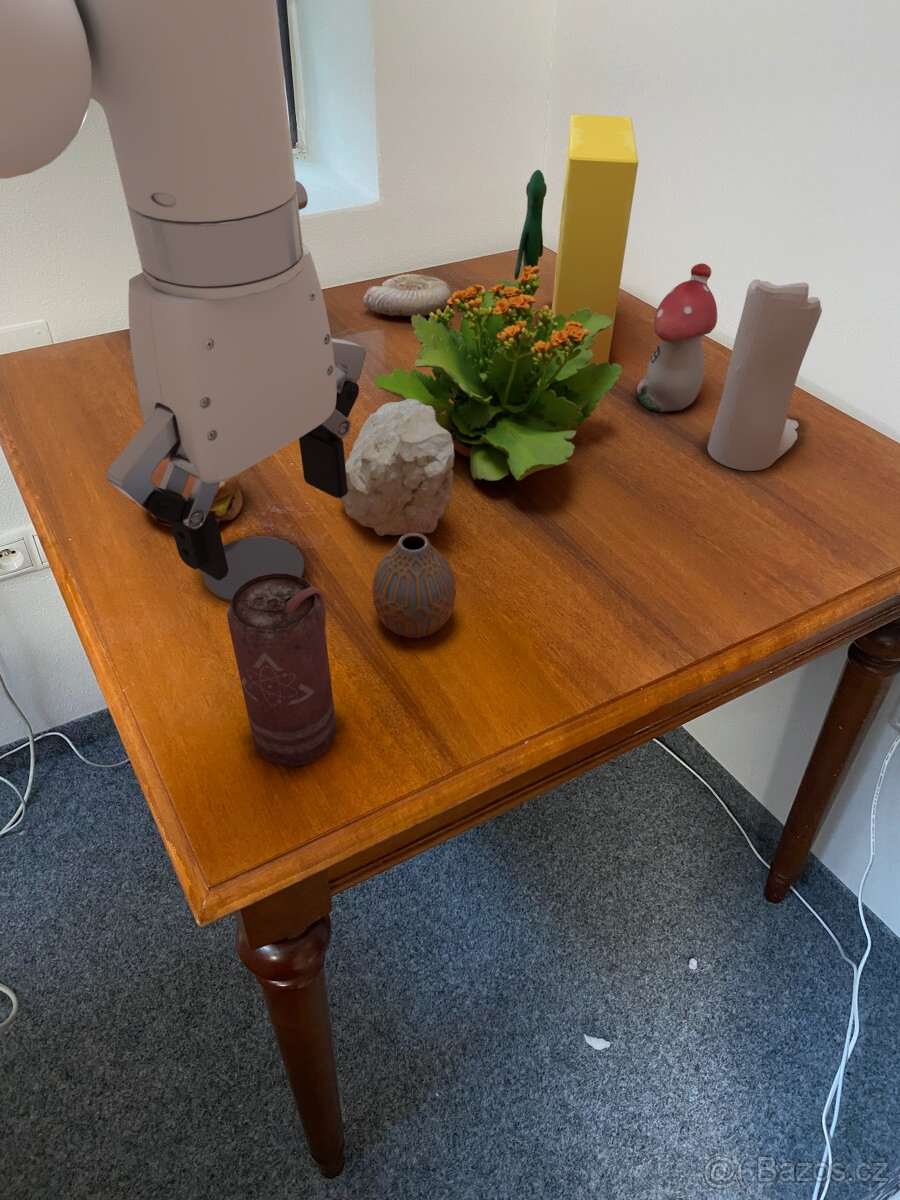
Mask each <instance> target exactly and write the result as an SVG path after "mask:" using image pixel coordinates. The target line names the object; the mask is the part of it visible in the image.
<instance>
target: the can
mask: <svg viewBox="0 0 900 1200" xmlns="http://www.w3.org/2000/svg"><path fill="white" fill-rule="evenodd" d="M326 608H327V607H326V602H325V597H324V593H323V592H322V590H321V589H320V588H318V587H315V586H312V585H311V584H310V582H308V581H307V580H305V579H304V578H303V577H302V578H300V577H298V576H295V575H291V574H287V573H271V574H265V575H260V576H258V577H255V578H253V579H250V580H248V581H247V582H246V583H244V584H243V585H241V586H240V587H239V588H238V589H237V590H236V592H235V593H234V594H233V596H232V600H231V602H229V606H228V609H227V613H226V619H227V625H228V629H229V634H230V638H231V643H232V647H233V652H234V656H235V657H234V658H235V662H236V666H237V670H238V676H239V680H240V685H241V689H242V693H243V699H244V703H245V708H246V712H247V717H248V722H249V726H250V731H251V736H252V740H253V745H254V747H255V749H256V750H257V752H258V753H259V755H260V756H261V757H263V758H265V759H266V760H267V761H269V762H270V763H272V764H277V765H280V766H283V767H301V766H303V765H308V764H310V763H312V762H314V761H316V760H318V759H319V758H320V757H321V756H322V755H323V754H324V753H325V752H327V750H329V748H330V747H331V745H332V744H333V742H334V740H335V738H336V732H337V724H336V714H335V706H334V697H333V696H334V695H333V687H332V677H331V670H330V668H331V667H330V660H329V652H328V651H329V650H328V643H327V642H328V641H327V633H326V626H327V625H326V621H327V620H326V619H327V609H326Z"/></svg>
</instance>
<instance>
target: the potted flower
mask: <svg viewBox="0 0 900 1200" xmlns="http://www.w3.org/2000/svg"><path fill="white" fill-rule="evenodd" d="M522 268H523V271H522V274H521V275H520V278H519V277H518V279H517V282H515V281H514V282H511V281H510V280H509V279H506V278H504V279H502V280H499V281H498V282H497V283H496V285H494V286H491V287H490V288H489V289H487V288H485V285H480V284H477V283H476V284H471V285H469V286H468V287H467V288H465V289H464V290H463V289H462V290H460V289H458V290H457V291H454V292H452V296H451V297H450V298H449V300H448V301H447V304H449V305H447V306H446V308H444V310H443V312H442V310H439V309H438V310H437V312H436V313H432V312H431V313H430V315H429V318H428V319H426V317H424V316H423V315H422V316H421V315H420V314H418V315H417V316H416V315H413V316H411V319H410V320H411V327H412V329H413V330H414V331H413V335H414V337H415V338H416V340H417V341H418V343H419V344H420V345H422V347H420V348H418V349H417V351H416V356H417V357H418V358H419V359H414V367H416V368H417V369H416V368H412V369H411V371H410V373H409V371H407V370H405V369H401V368H393V370H392V373H390V374H387V373H382V374H381V375H377V376H376V377H375V378H373V382H374V384H375V386H376V387H377V388H378V389H382V390H384V391H387V392H388V393H390V394H392V395H394V396H396V397H397V398H398V397H399V398H401V399H403V401H404V400H407V399H408V398H410V399H416V400H419V401H420V402H422V403H423V404H424V405H427V406H432V408H433V409H434V410H435V414H436V415H437V414H439V416H438V417H436V421H437V423H438V424H439V425H440V426H441V427H442V428H444V429H445V430H447V431H448V432H449V433H450V434H451V437H452V441H453V446H454V450H456V451H457V453H458V454H460V455H462V456H464V457H466V458H469V464H470V474H471V478H472V480H475V481H476V480H477V479H478V480H479V481H481V480H483V479H484V480H485V481H488V482H497V481H499V480H502V479H503V478H505V477H507V476H508V475H509V473H511V475H512V476H513V477H514V479H515V480H516V481H522V480H523V479H525V478H526V477H527V476H529V475H531V474H533V473H536V472H539V471H543V470H546V469H549V468H553V467H557V466H560V465H562V464H565V463H568V458H570V457H571V456H573V454H574V451H575V449H576V446H575V445H574V444H573V443H572V441H573V440H574V437H575V436H576V434H577V430H573V428H577V427H578V425H582V424H585V423H586V419H589V418H590V417H591V415H592V412H594V411H595V410H596V409H597V408H598V403H599V402H601V400H602V399H603V398H604V397H605V394H607V393H608V392H609V391H610V390H611V389H612V388H613V386H614V385H615V384H617V382H618V381H619V380H620V376H621V374H622V366H621V365H620V364H618V363H616V362H614V363H612V364H611V363H610V362H609V361H608V362H603V363H600V364H599V365H597V364H596V363H591V364H588V365H587V366H586V364H587V363H589V361H590V360H591V359H592V356H593V354H592V352H591V350H588V351H586V350H587V349H589V348H590V347H591V346H592V345H594V344H595V340H594V339H593V337H594V336H595V335H596V333H597V332H599V331H602V330H604V329H606V328H608V327H609V326H610V325H612V324H613V322H612V321H611V319H610V318H609V317H607V316H605V315H600V316H599V315H598V313H597V312H595V313H594V314H593V315H592V316H591V310H590V309H589V308H584V309H581V310H578V311H577V313H576V314H575V313H574V312H572V313H571V314H570V316H569V319H568V322H567V320H566V317H565V316H564V315H563V314H558V315H557V316H556V317H554V318H553V317H552V315H553V313H554V311H552V308H550V307H549V306H548V305H547V304H545V305H543V306H542V308H541V309H539V310H536V311H535V307H534V306H533V305H534V304H535V303H537V300H536V298H535V297H534V296H535V294H536V293H537V290H538V289H539V288H540V287H541V285H540V279H539V278H540V274H539V272H540V270H541V267H538V265H537V266H535V267H533V268H532V267H531V265H529V266H526V267H524V266H523V267H522ZM524 269H525V270H526V271H524ZM528 292H530V294H529V293H528ZM450 305H455V309H456V311H454V309H453V308H451V307H450ZM456 313H463V315H462V317H461V318H460V320H459V330H457V329H455V328H454V327H453V326H452V323H453V320H452V319H453V318H454V317H455V316H456ZM536 315H538V319H539V320H537V325H536V326H534V327H533V329H535V330H534V331H533V332H532V326H533V323H534V322H535V319H536V317H535V316H536ZM590 316H591V317H590ZM552 320H553V322H552ZM449 322H450V323H449ZM448 325H449V326H448ZM531 337H532V338H533V341H530V338H531ZM418 368H432V369H431V372H432V374H433V376H434V377H435V378H433V376H432V375H431V374H423V373H422V371H418ZM450 400H451V402H450ZM443 412H445V414H444V413H443Z"/></svg>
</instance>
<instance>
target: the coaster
mask: <svg viewBox="0 0 900 1200" xmlns="http://www.w3.org/2000/svg"><path fill="white" fill-rule="evenodd" d="M223 547H224V552H225V556H226V561H227V565H228V570H229V571H228V572H227V576H226V577H224V578H223V579H221V580H220V581H218V580H216V579H214V578H213V577H211V576H210V575H208V574H206V573H205V572H203V571H202V577H203V582H204V585H205V587H206V588H207V590H208V591H209V592H210V593H211V594H212V595H213V596H215V597H216V598H218V599H220V600H222V601H224V602H228V603H231V600H232V596H233V594H234V593H235V592H236V590H237V589H238V588H239V587H240V586H241V585H243V584H244V583H246V582H247V581H248V580H250V579H253V578H255V577H258V576H260V575H265V574H271V573H287V574H291V575H295V576H298V577H300V578H302V579H303V577H304V573H305V567H306V565H305V559H304V556H303V554H302V553H301V552H300V550H299V549H298V548H297V547H296V546H295V545H293V544H292V543H290V542H288V541H285V540H283V539H281V538H278V537H277V538H276V537H270V536H249V537H244V538H241V539H236V540H234V541H230V542H229V543H227V544H223Z"/></svg>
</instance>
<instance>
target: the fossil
mask: <svg viewBox="0 0 900 1200" xmlns="http://www.w3.org/2000/svg"><path fill="white" fill-rule="evenodd" d="M452 294H453V292H452V289H451V288H450V286H449V284H448V283H447V282H446V281H444V280H442V279H440V278H438V277H434V276H429V275H426V274H416V273H415V274H414V273H411V274H409V273H408V274H405V273H404V274H400V275H396V276H394V277H390V278H388V279H386V280H385V281H384V282H383V283H382V284H381V285H380V286H379V285H375V284H371V285H370V286H369V287H368V288H367V289H366V291H365V294H364V295H363V298H362V300H363V305H364V307H365V308H367V309H369V311H373V312H375V313H377V314H380V315H388V316H391V317H392V316H396V317H400V316H402V317H412V316H413V315H416V316H417V315H418V314H420V315H421V316H422V317H426V316H430V313H431V312H432V313H434V314H437V310H438V309H439V310H441V311H444V310H445V309H446V306H447V305H449V306H450V304H447V301H448V300H449V298H450V297H451V296H452Z"/></svg>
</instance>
